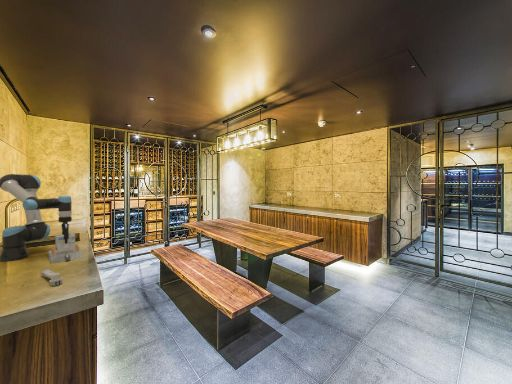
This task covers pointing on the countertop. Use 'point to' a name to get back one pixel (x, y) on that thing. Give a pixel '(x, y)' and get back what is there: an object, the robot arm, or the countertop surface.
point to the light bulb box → (60, 242)
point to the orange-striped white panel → (65, 254)
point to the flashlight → (52, 277)
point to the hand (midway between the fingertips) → (65, 246)
